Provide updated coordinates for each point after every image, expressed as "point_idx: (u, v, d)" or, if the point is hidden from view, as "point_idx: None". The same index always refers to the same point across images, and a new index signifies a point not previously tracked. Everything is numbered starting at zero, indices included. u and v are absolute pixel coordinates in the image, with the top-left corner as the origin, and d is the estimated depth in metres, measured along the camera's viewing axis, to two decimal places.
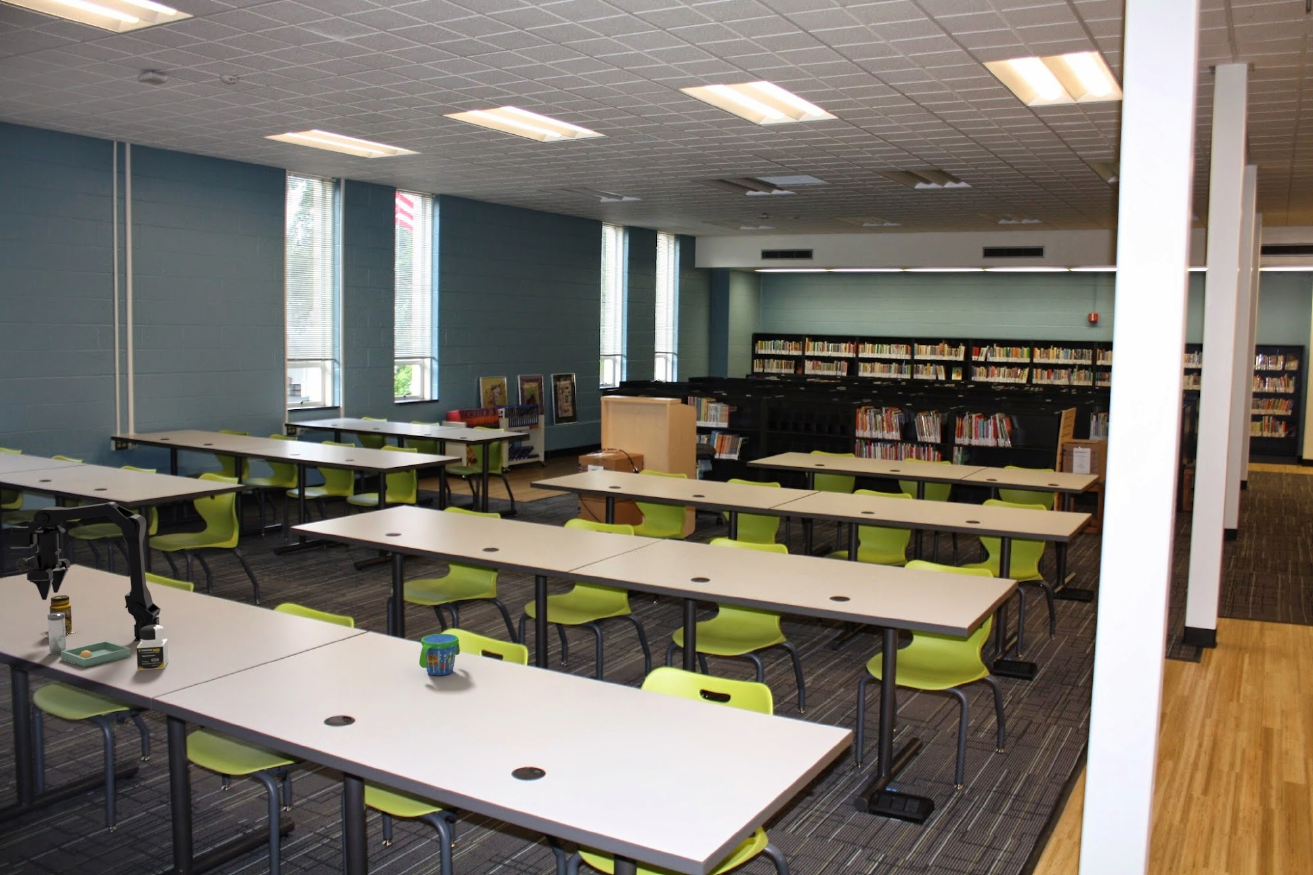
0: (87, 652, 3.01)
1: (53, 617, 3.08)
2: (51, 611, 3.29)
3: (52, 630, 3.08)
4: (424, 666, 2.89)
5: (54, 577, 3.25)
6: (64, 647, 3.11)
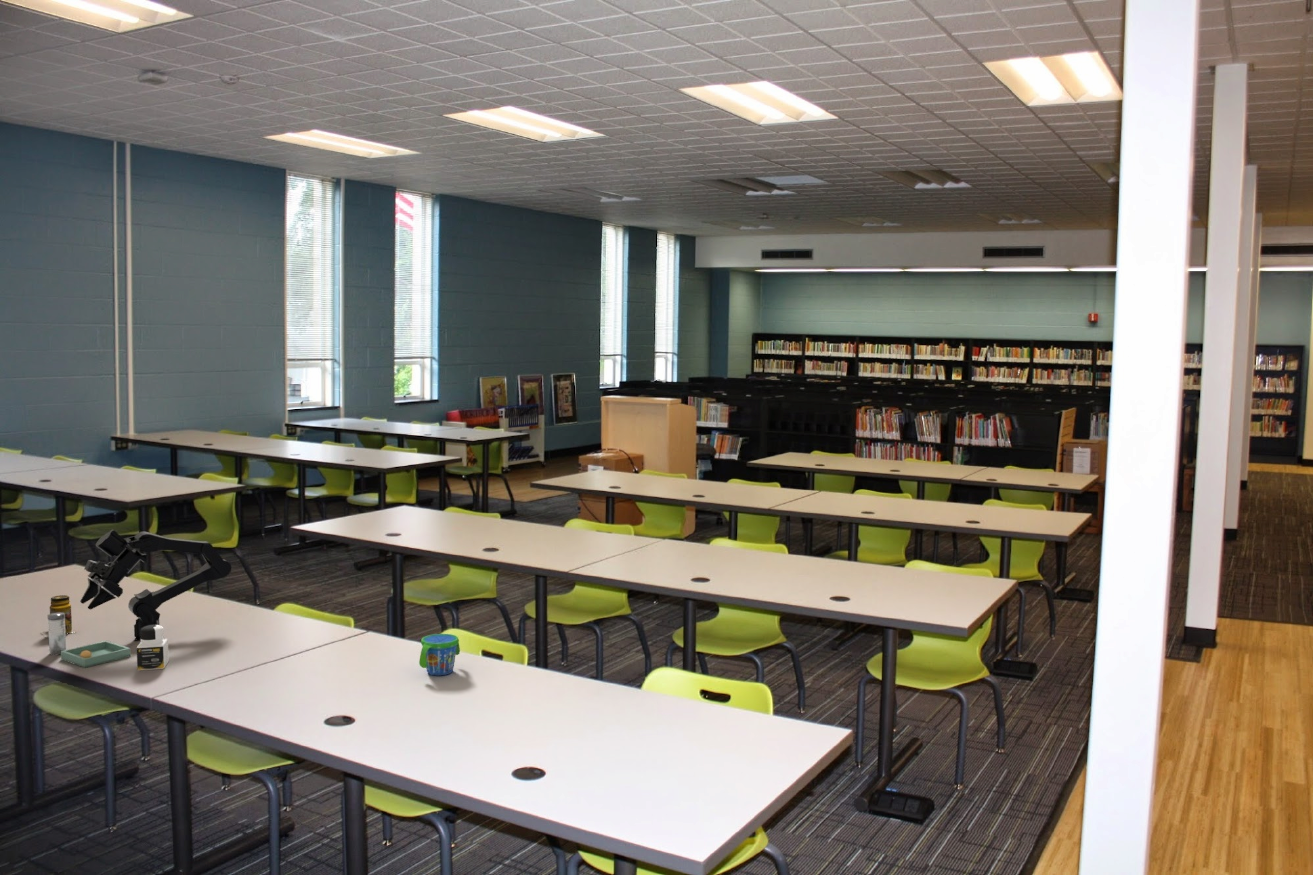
0: (87, 652, 3.01)
1: (53, 617, 3.08)
2: (51, 611, 3.29)
3: (52, 630, 3.08)
4: (424, 666, 2.89)
5: (92, 589, 3.20)
6: (64, 647, 3.11)
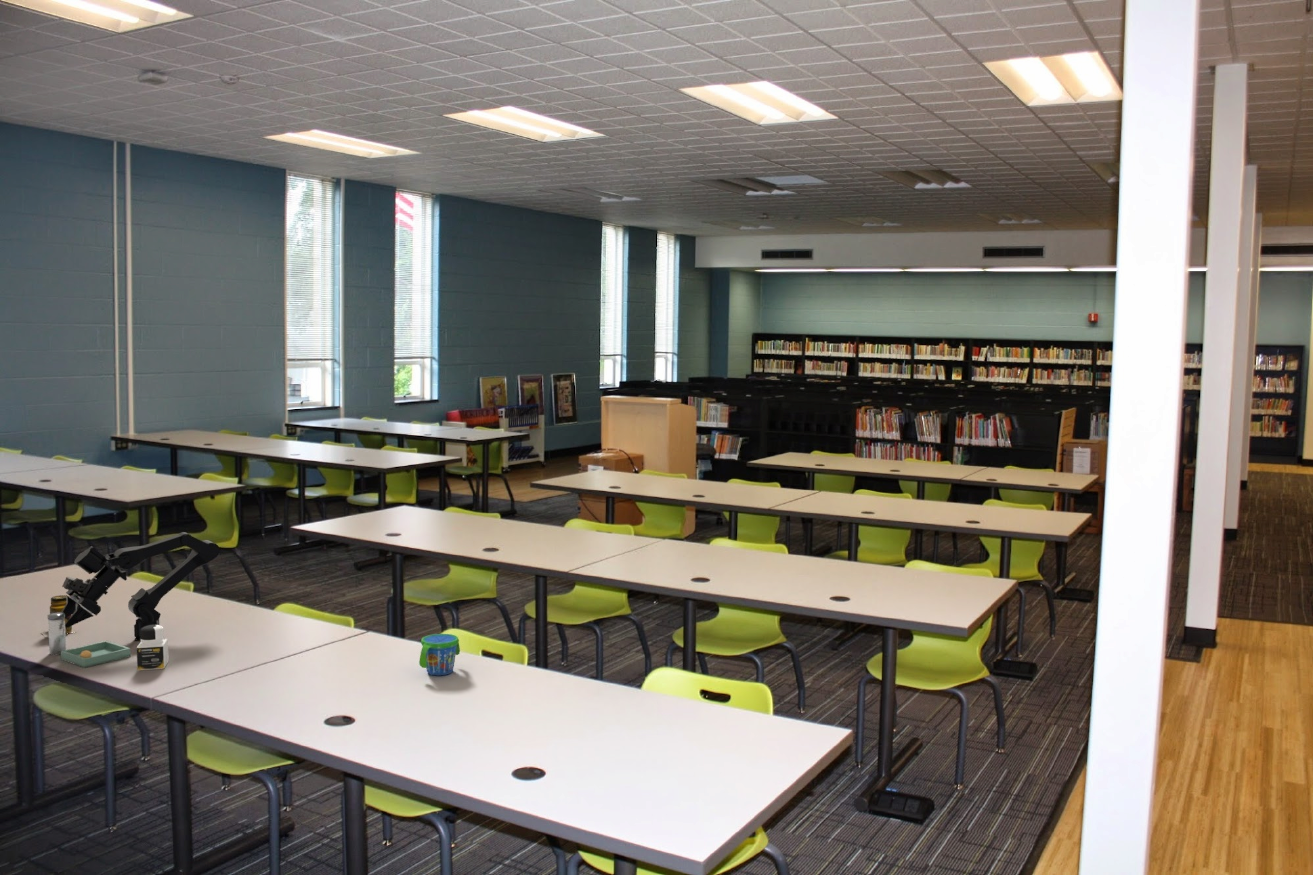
0: (87, 652, 3.01)
1: (53, 617, 3.08)
2: (51, 611, 3.29)
3: (52, 630, 3.08)
4: (424, 666, 2.89)
5: (70, 606, 3.17)
6: (64, 647, 3.11)
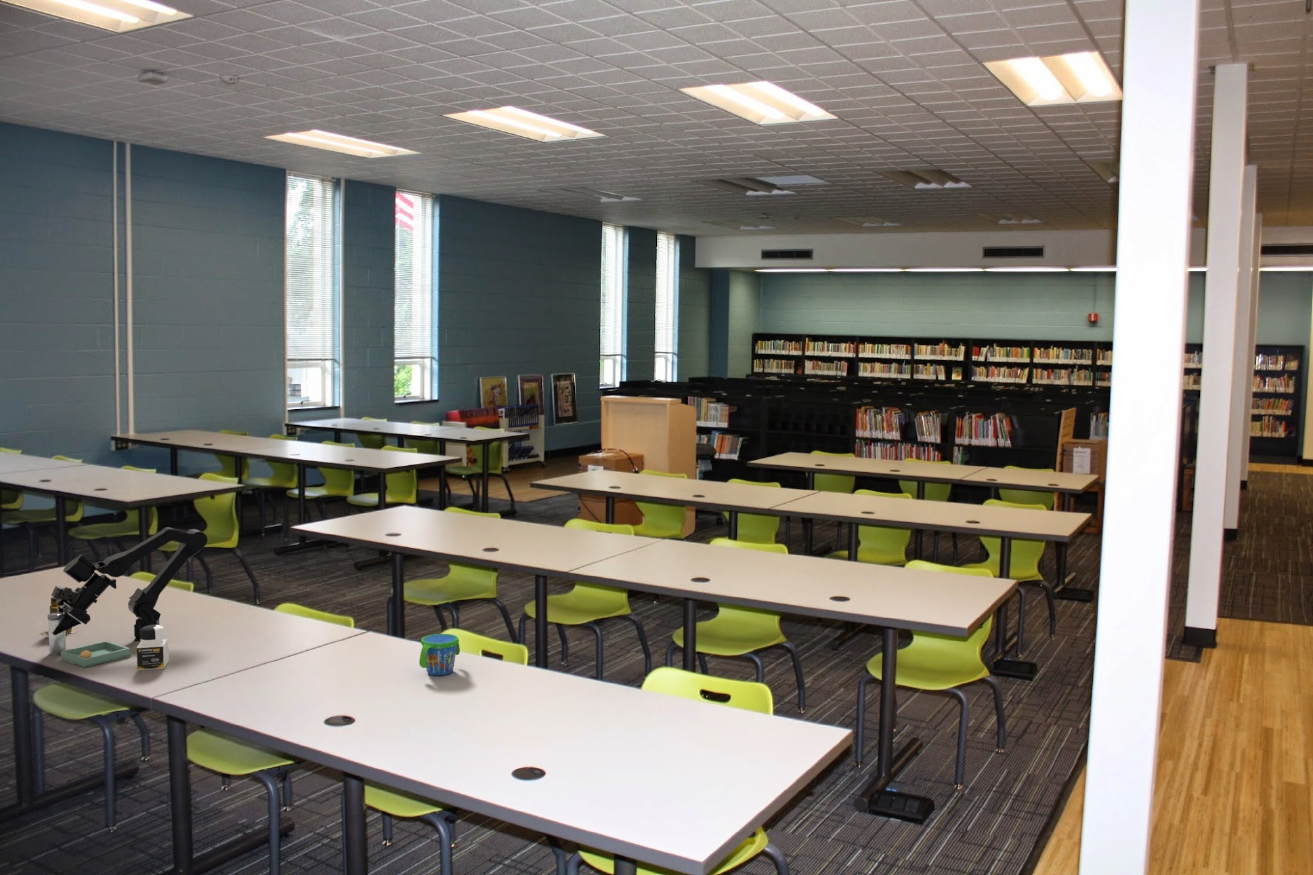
0: (87, 652, 3.01)
1: (53, 617, 3.08)
2: (51, 611, 3.29)
3: (52, 630, 3.08)
4: (424, 666, 2.89)
5: None
6: (64, 647, 3.11)
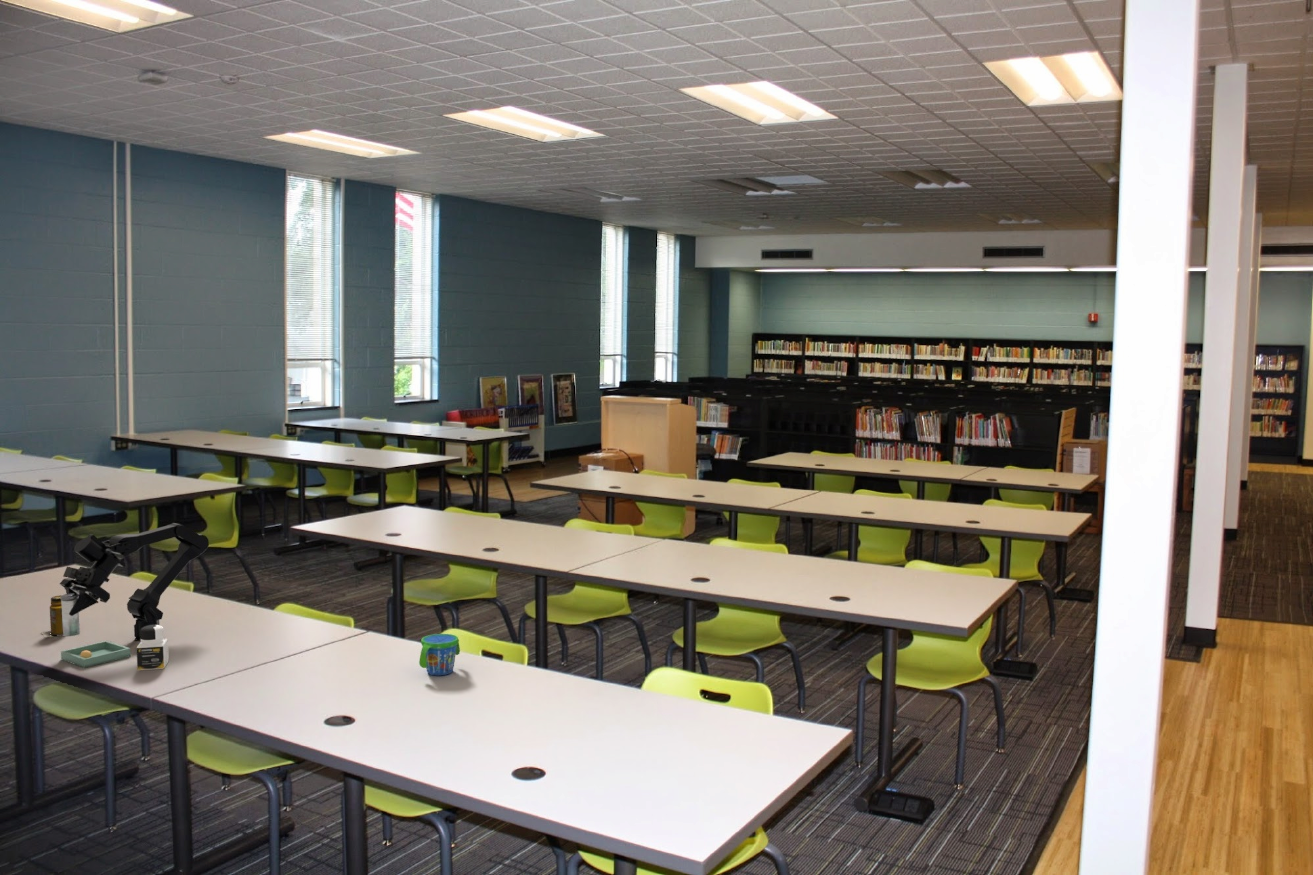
0: (87, 652, 3.01)
1: (69, 598, 3.04)
2: (51, 611, 3.29)
3: (68, 611, 3.04)
4: (424, 666, 2.89)
5: None
6: (79, 627, 3.08)
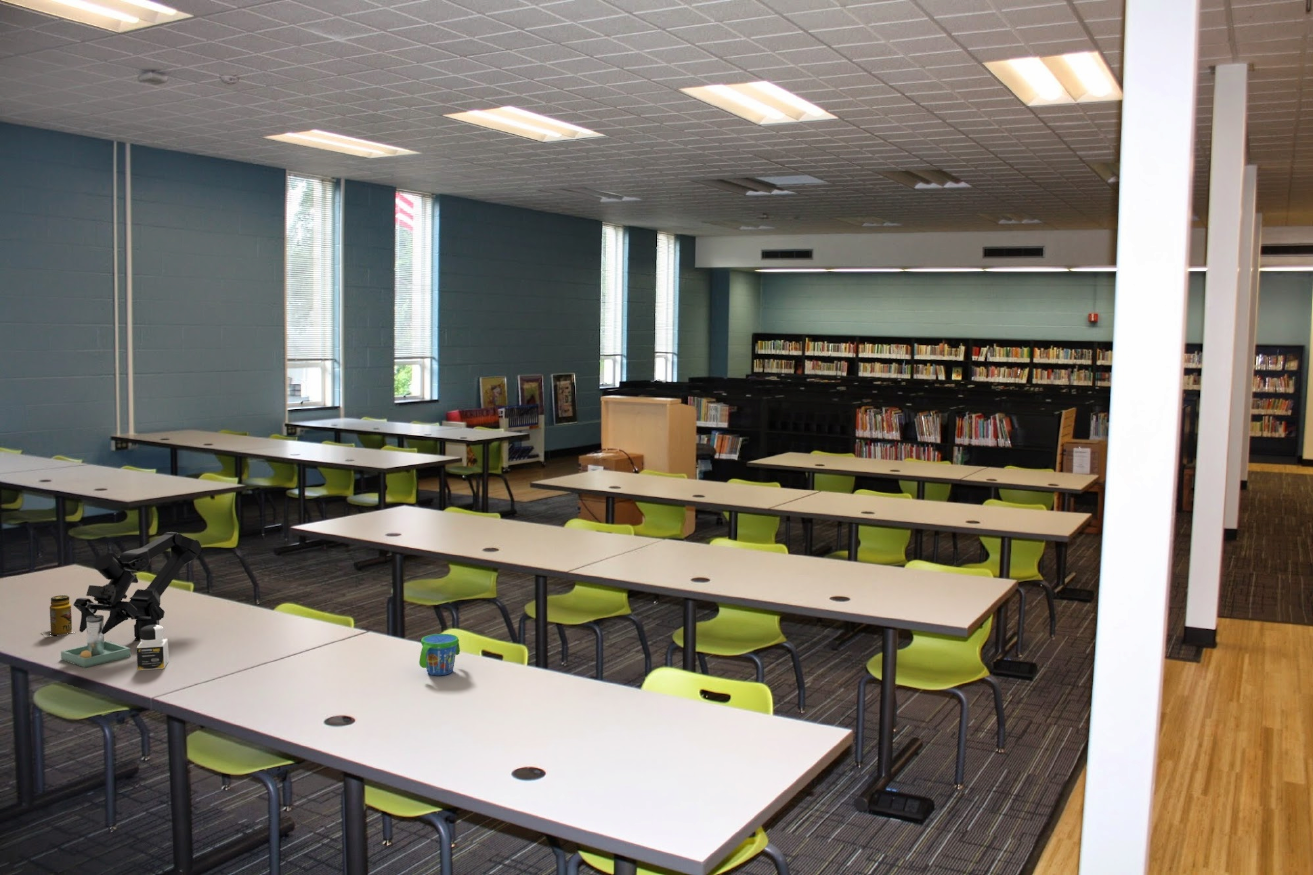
0: (87, 652, 3.01)
1: (97, 619, 3.04)
2: (51, 611, 3.29)
3: (96, 633, 3.04)
4: (424, 666, 2.89)
5: (87, 616, 3.08)
6: None
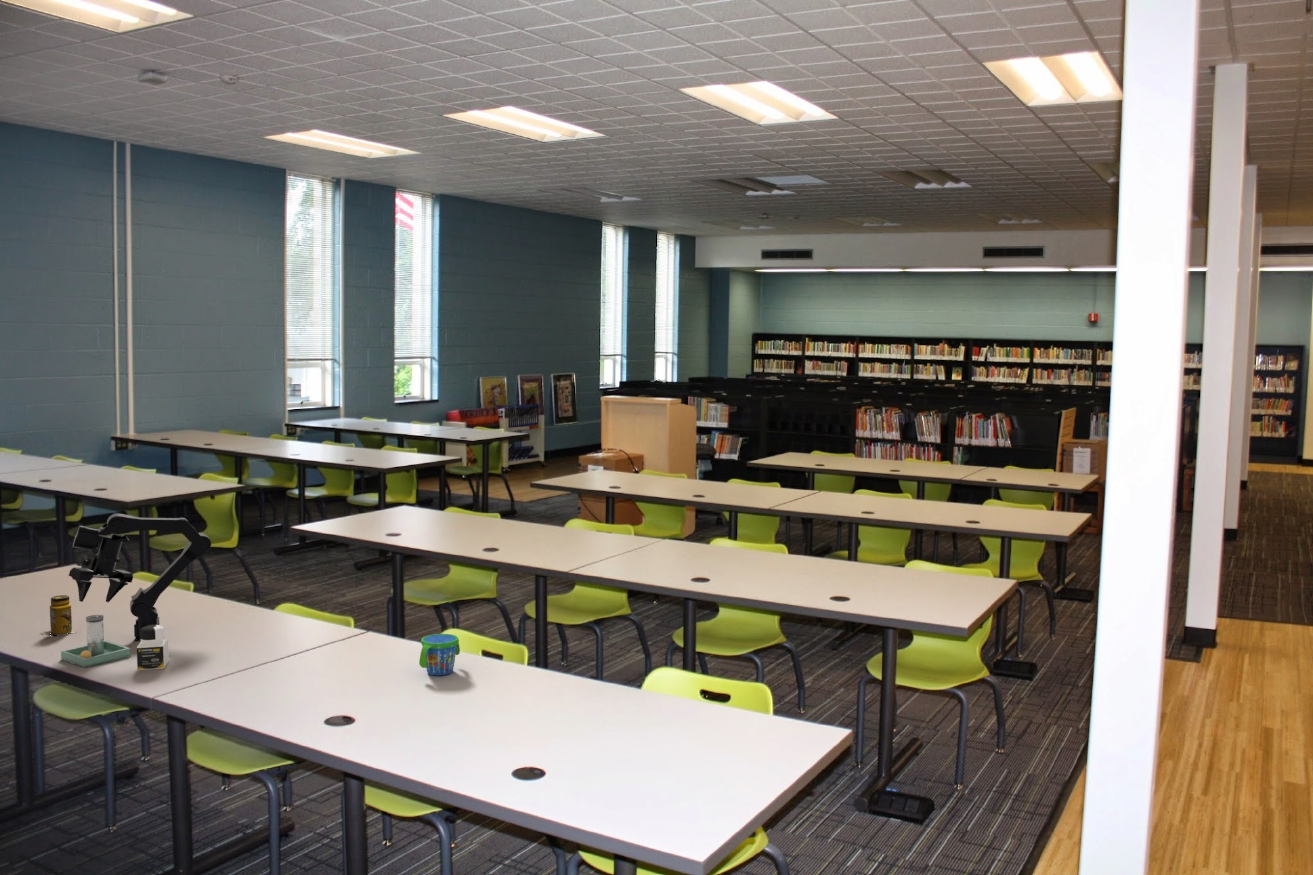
0: (87, 652, 3.01)
1: (97, 619, 3.04)
2: (51, 611, 3.29)
3: (96, 632, 3.04)
4: (424, 666, 2.89)
5: (111, 586, 3.24)
6: None
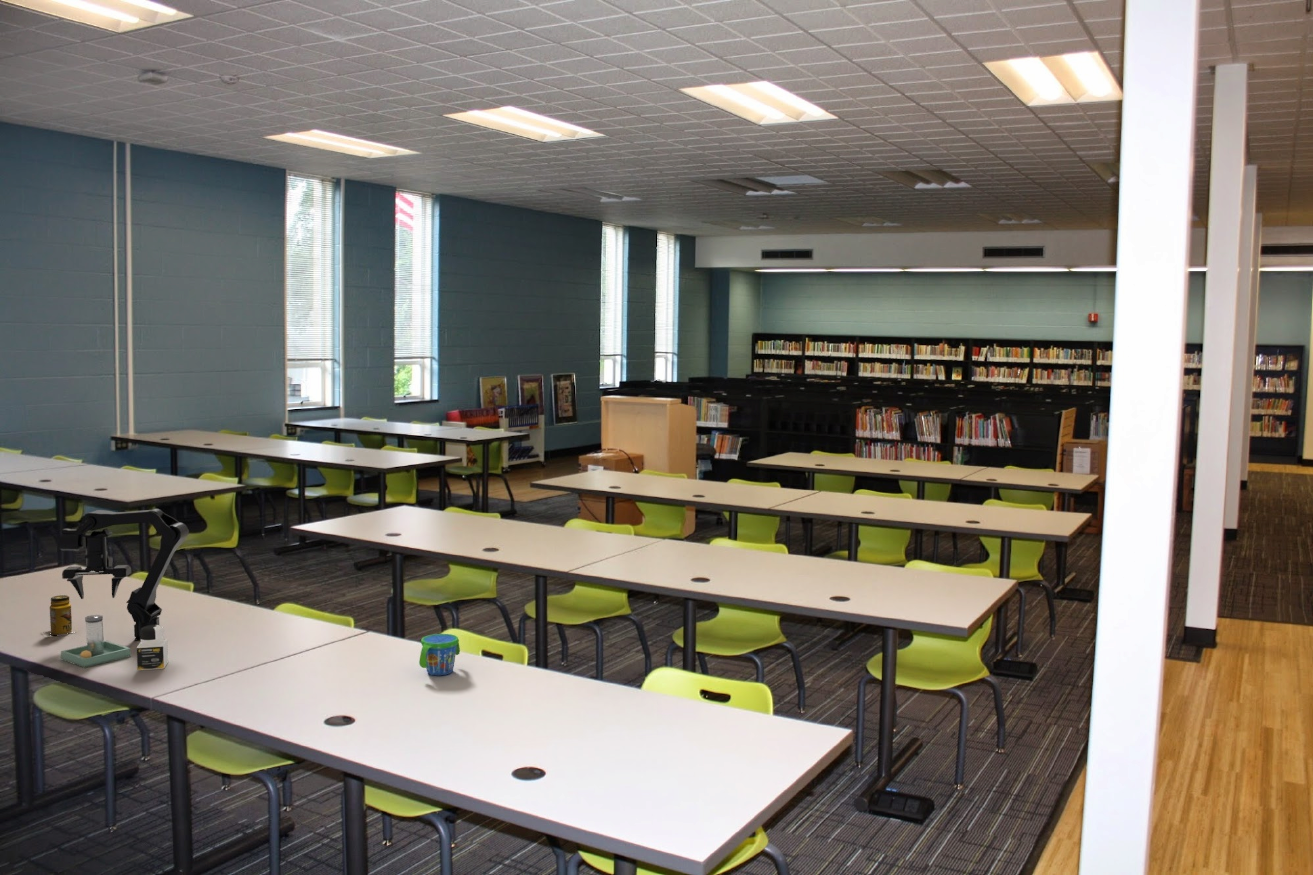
0: (87, 652, 3.01)
1: (96, 619, 3.04)
2: (51, 611, 3.29)
3: (96, 633, 3.04)
4: (424, 666, 2.89)
5: None
6: None
